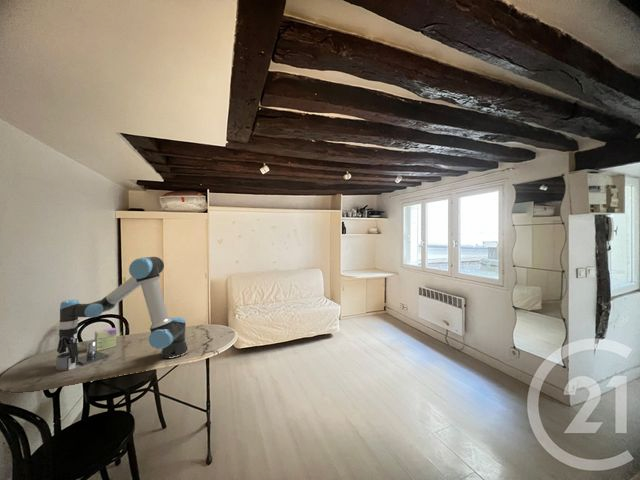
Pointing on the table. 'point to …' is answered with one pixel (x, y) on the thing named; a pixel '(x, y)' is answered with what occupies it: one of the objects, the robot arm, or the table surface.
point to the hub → (64, 361)
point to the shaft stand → (91, 354)
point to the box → (105, 338)
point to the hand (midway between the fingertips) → (66, 366)
